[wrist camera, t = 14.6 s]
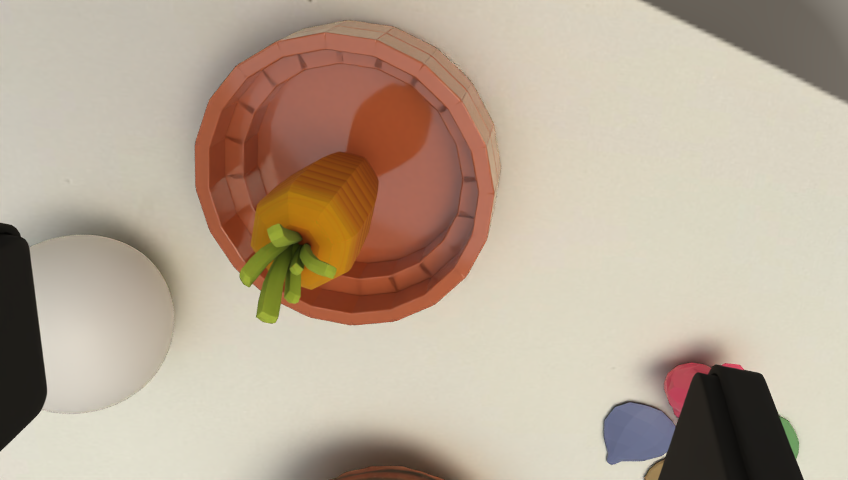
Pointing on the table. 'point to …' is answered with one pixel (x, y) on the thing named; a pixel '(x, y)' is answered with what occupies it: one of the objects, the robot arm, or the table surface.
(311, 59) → the terracotta bowl
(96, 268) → the ornament
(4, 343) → the robot arm
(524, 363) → the table surface
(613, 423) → the toy pieces
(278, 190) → the carrot
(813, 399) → the table surface
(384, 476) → the bowl
